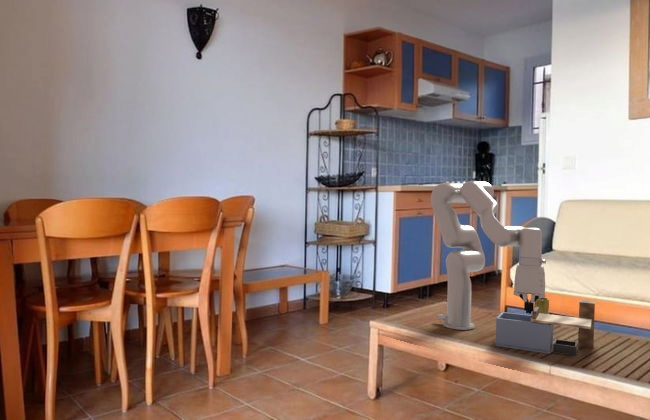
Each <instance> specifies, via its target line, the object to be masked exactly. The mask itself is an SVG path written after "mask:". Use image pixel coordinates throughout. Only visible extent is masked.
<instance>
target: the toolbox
mask: <svg viewBox="0 0 650 420" xmlns="http://www.w3.org/2000/svg"><path fill="white" fill-rule="evenodd" d="M531 318H532V315H531V314H524V313H523V314H521V313H516V312H515V313H513V312H508V311H507V312H505V311H502V312H500V313H499V314H498V316H497V317H496V318H495V346H496V347H503V348H508V349H515V350H522V351H529V352H535V353H542V354H549V355H550V354H551V351H552V349H553V344H554V325H553V324H545V323H537V322H531Z"/></svg>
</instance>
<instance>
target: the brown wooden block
mask: <svg viewBox="0 0 650 420" xmlns="http://www.w3.org/2000/svg"><path fill="white" fill-rule="evenodd" d="M595 306H596V302H595V301H594V300H586V299H585V300H584V299H579V303H578V307H579V308H578V311H579V312H578V318H585V319H592V321H591V329H586V328H578V331H577V332H578V334H577V347H583V348H584V347H585V348H590V349H591V348H592V349H593V348H594V344H595V343H594V341H595V340H594V339H595V338H594V337H595V336H594V335H595V313H596V312H595V309H596V307H595Z"/></svg>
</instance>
